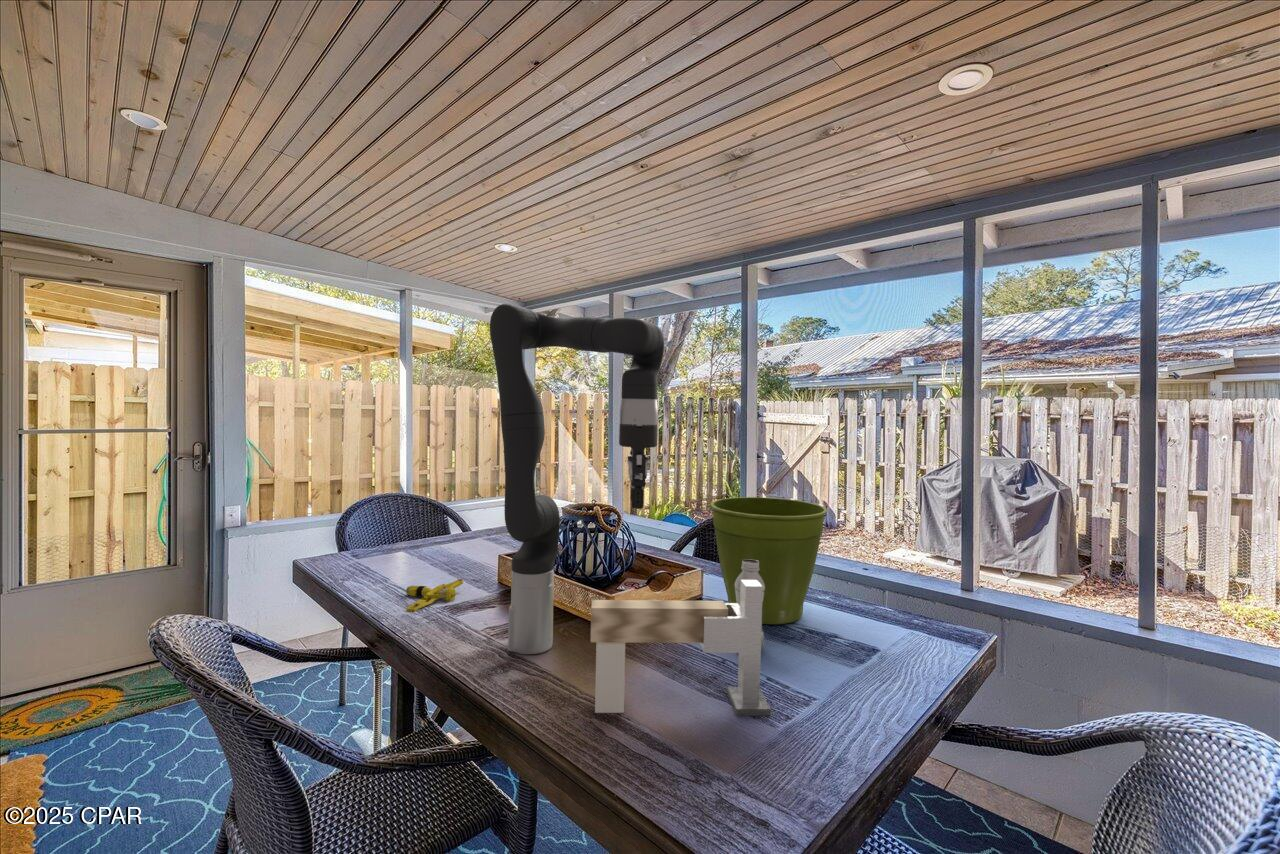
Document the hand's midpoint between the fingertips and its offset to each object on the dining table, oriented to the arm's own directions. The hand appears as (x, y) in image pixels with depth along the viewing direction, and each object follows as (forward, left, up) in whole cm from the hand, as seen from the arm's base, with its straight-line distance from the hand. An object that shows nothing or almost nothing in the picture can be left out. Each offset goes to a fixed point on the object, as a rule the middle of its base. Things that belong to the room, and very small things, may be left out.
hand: (636, 504), depth 112 cm
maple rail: (+4, -11, -22) cm, 25 cm away
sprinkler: (-55, +45, -35) cm, 79 cm away
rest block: (-4, -11, -34) cm, 36 cm away
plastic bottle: (+26, +12, -34) cm, 45 cm away
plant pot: (+36, +36, -34) cm, 61 cm away
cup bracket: (+18, -11, -34) cm, 40 cm away
